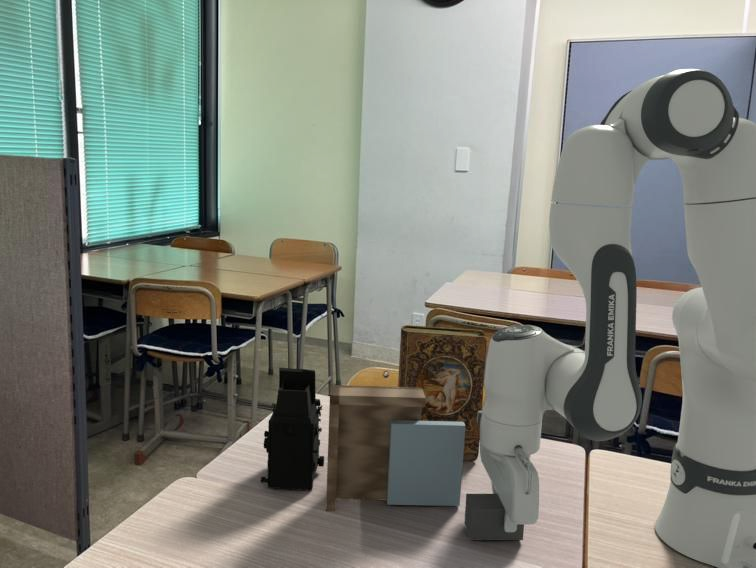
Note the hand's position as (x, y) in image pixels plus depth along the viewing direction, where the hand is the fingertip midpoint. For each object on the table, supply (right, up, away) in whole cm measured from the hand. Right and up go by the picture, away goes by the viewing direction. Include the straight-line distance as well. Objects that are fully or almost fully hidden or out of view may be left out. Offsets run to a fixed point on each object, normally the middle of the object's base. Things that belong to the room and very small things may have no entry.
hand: (503, 518), depth 92 cm
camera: (-34, +1, +17) cm, 38 cm away
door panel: (-12, -1, +8) cm, 14 cm away
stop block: (-2, -2, 0) cm, 3 cm away
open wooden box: (-20, -1, +7) cm, 22 cm away
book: (-8, +2, +28) cm, 29 cm away
